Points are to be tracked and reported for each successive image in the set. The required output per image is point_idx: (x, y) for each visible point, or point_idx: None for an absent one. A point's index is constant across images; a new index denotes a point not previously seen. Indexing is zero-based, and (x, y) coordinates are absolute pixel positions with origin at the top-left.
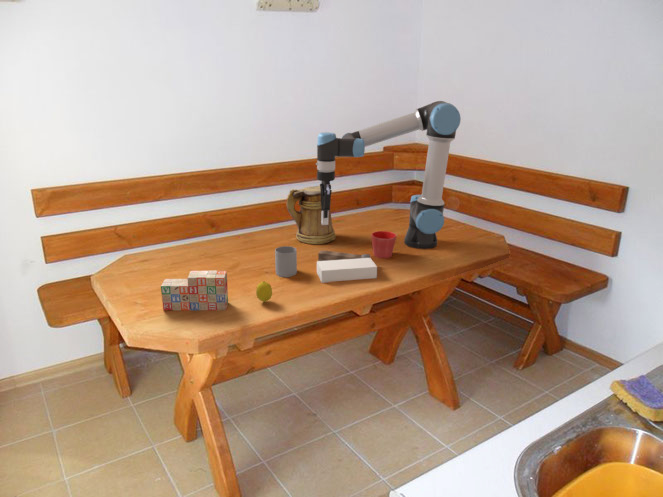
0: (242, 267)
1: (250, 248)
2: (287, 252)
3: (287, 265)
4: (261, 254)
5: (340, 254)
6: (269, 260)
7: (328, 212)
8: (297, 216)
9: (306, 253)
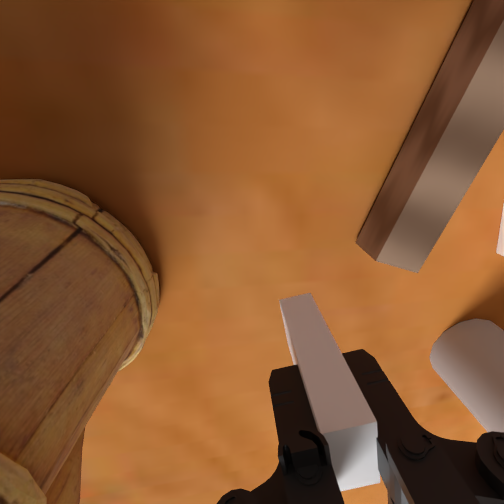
0: None
1: (225, 467)
2: (484, 404)
3: None
4: None
5: (464, 155)
6: None
7: (359, 391)
8: (61, 485)
9: (273, 305)
